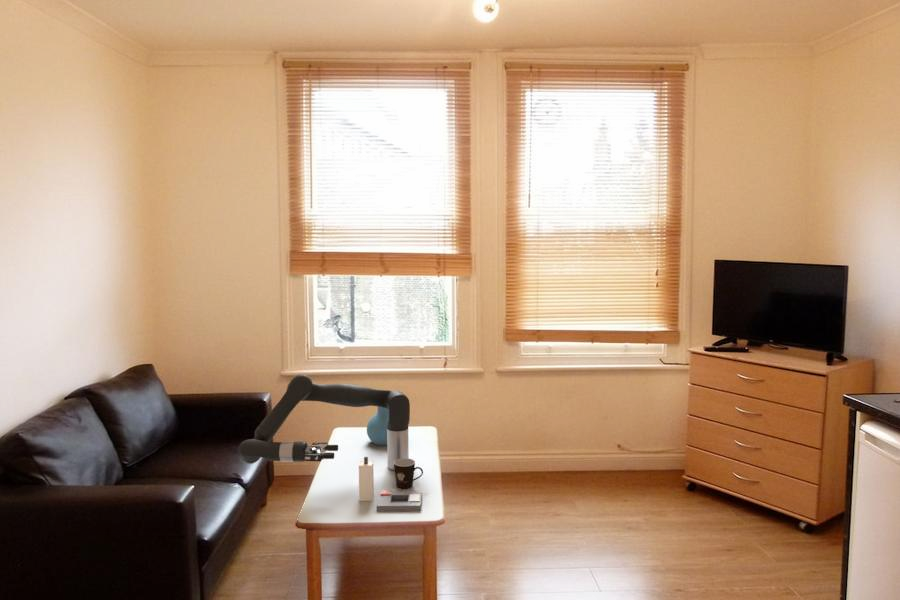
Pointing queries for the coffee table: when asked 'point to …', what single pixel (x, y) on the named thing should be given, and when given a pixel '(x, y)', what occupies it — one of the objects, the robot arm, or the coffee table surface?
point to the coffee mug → (405, 473)
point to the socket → (399, 501)
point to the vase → (378, 427)
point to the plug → (366, 480)
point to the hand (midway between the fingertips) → (336, 451)
